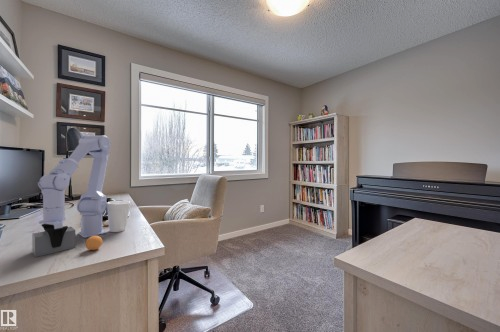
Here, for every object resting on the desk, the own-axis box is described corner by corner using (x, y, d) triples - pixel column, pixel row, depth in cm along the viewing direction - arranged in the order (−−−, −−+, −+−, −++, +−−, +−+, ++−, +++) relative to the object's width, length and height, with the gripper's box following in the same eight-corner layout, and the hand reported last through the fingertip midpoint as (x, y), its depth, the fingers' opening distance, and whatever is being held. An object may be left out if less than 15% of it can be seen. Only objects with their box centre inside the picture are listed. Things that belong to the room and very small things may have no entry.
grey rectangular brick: (32, 252, 74) (32, 233, 74) (71, 243, 82) (71, 226, 82) (35, 257, 70) (34, 237, 70) (75, 247, 79) (75, 229, 78)
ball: (83, 250, 76) (83, 236, 76) (99, 245, 80) (99, 232, 80) (87, 253, 73) (87, 239, 73) (104, 249, 77) (104, 235, 77)
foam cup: (117, 234, 93) (119, 204, 93) (100, 231, 95) (101, 203, 95) (133, 228, 102) (135, 201, 102) (117, 226, 104) (118, 199, 104)
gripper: (35, 206, 78) (35, 242, 78) (42, 211, 69) (42, 253, 69) (61, 203, 83) (61, 237, 83) (70, 208, 74) (70, 246, 74)
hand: (54, 244), depth 76 cm, fingers open, 7 cm apart
